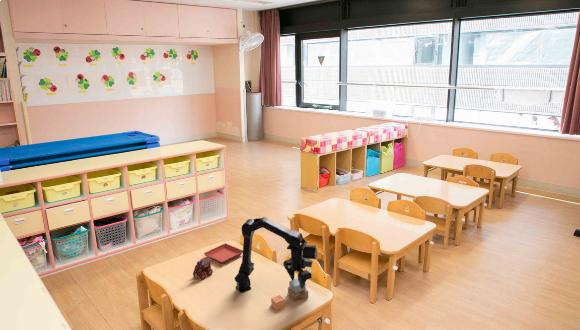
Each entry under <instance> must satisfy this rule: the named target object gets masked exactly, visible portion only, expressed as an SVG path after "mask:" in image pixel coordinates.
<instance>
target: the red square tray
mask: <svg viewBox="0 0 580 330" xmlns="http://www.w3.org/2000/svg"><path fill="white" fill-rule="evenodd" d="M203 255H204V256H205V257H207V256H210V258H211V260H212V261H215V262H217V263H219V264H221V265H224V264H226V263H228V262H230V261H232V260H234V259H236V258H238V257H240V256H241V255H243V249H240V248H238V247H236V246H234V245H230V244H228V243H223V244H220V245H219V246H217V247H214V248H212V249H210V250H208V251H205V252H204V253H203Z"/></svg>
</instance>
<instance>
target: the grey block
mask: <svg viewBox="0 0 580 330" xmlns="http://www.w3.org/2000/svg"><path fill="white" fill-rule="evenodd" d="M288 284H289V286H288V287H290V289H291V290H292V291H293V292H295V293H299V292H301V291H304V290H306V289H307V287H306V284H305V285H304V288H301V286H300V284H299V281H298V277H297V278H294V280H292V279H291V280H290V281H289V283H288Z"/></svg>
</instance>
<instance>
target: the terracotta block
mask: <svg viewBox="0 0 580 330" xmlns="http://www.w3.org/2000/svg"><path fill="white" fill-rule="evenodd" d="M270 302H271V304H270V305H271V306H272V307H273V308H274V309H275V311H276V310H279V309H281V308H285V307H286V300H285V298H284V297H283V296H282V295H281V294H278V295H275V296H272V297H271V298H270Z"/></svg>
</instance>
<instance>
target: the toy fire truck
mask: <svg viewBox="0 0 580 330" xmlns="http://www.w3.org/2000/svg"><path fill="white" fill-rule="evenodd" d="M211 260H212V259H211V258H210V256H205V257H204V258H202V259H200V260H198V261H196V264H195V265H194V269H193V272H192V275H193V278H194V279H198V278H199V279H200V280H202V281H203V280H205V279H206V277H207V276H209V277H210V276H212V274H213V273H214V271H213V269H212V266H211Z"/></svg>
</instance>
